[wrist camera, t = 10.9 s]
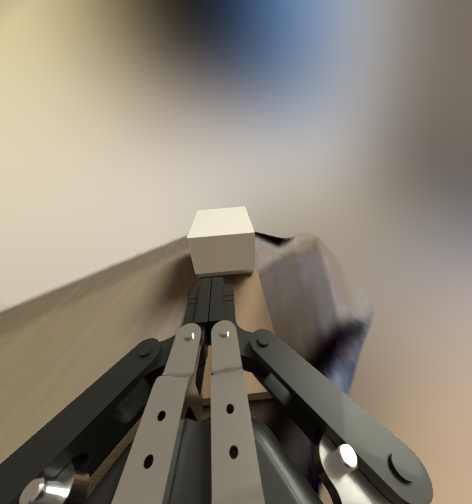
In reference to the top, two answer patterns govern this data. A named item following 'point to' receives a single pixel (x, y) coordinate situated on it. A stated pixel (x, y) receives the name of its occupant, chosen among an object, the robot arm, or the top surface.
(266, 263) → the top surface
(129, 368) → the robot arm
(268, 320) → the walnut track
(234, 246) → the cream white block
